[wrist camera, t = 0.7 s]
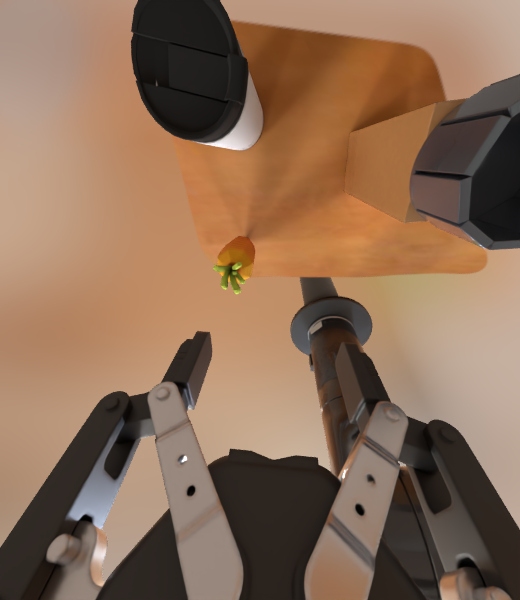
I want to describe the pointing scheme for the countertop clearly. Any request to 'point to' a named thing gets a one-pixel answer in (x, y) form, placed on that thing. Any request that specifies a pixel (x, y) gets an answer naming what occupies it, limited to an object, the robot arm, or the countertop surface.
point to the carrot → (236, 262)
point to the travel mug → (195, 73)
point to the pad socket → (446, 166)
